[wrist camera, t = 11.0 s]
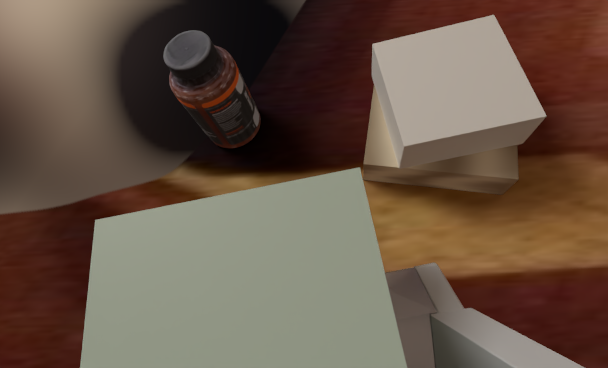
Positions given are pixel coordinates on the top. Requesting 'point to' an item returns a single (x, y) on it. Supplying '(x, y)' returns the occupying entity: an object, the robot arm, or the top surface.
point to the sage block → (244, 282)
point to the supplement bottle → (212, 89)
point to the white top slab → (453, 92)
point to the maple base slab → (437, 164)
